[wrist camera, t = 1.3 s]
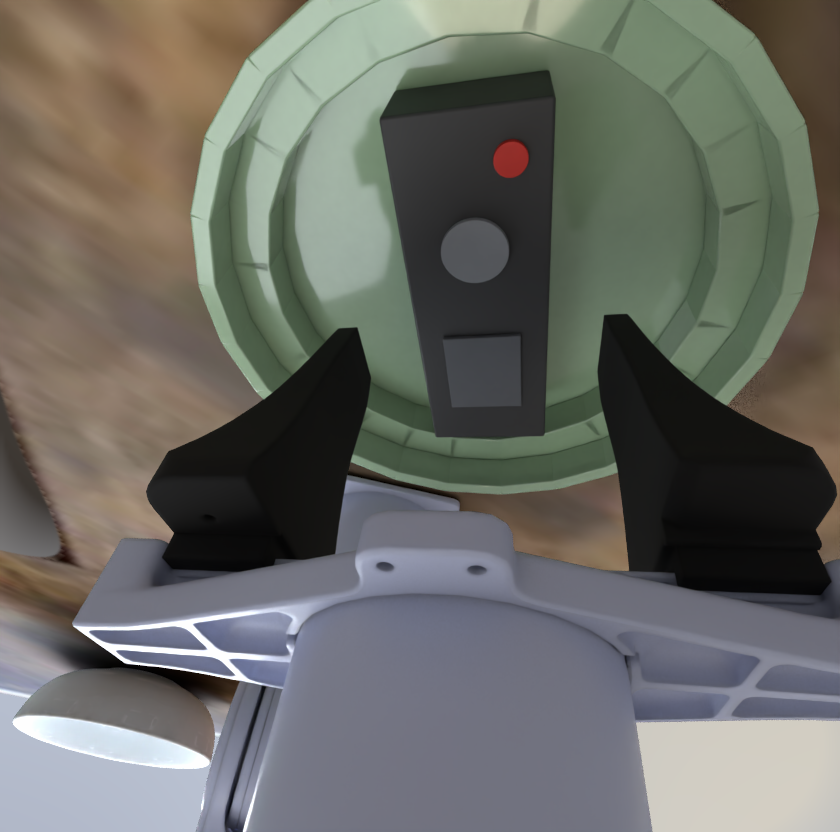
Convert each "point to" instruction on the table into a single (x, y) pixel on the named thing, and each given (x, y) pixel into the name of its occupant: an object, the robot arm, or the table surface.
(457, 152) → the remote
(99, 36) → the table surface
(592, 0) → the dish
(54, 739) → the serving bowl
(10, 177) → the table surface
